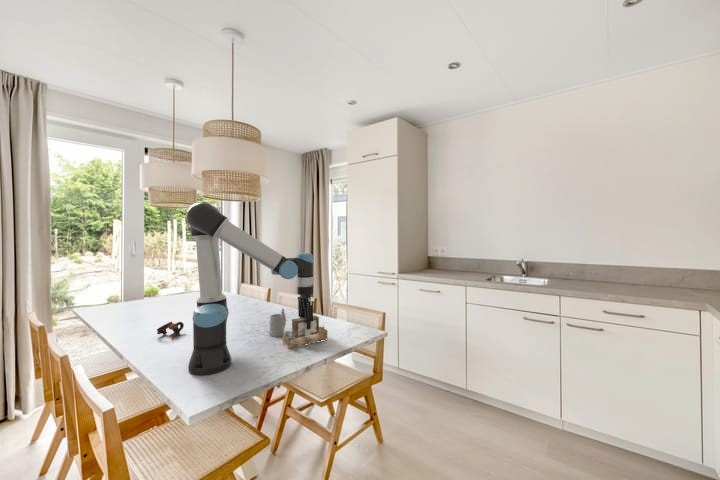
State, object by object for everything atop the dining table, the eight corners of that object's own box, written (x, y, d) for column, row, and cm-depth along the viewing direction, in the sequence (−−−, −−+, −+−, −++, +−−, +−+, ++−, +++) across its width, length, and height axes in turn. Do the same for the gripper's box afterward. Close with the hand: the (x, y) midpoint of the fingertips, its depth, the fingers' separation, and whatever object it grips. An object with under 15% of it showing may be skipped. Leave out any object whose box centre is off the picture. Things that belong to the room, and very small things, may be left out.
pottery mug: (167, 341, 150) (158, 327, 150) (160, 346, 155) (151, 332, 155) (190, 329, 160) (182, 315, 160) (182, 333, 165) (174, 320, 165)
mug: (265, 336, 157) (265, 312, 157) (279, 329, 168) (279, 307, 168) (278, 337, 154) (278, 313, 154) (291, 330, 166) (291, 308, 165)
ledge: (288, 349, 140) (288, 336, 139) (282, 344, 145) (282, 332, 145) (327, 340, 151) (327, 328, 151) (320, 336, 157) (320, 325, 156)
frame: (295, 338, 143) (295, 321, 143) (292, 336, 146) (292, 319, 146) (318, 333, 150) (318, 317, 149) (315, 331, 153) (315, 315, 153)
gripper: (320, 287, 142) (320, 337, 143) (305, 282, 157) (305, 328, 157) (305, 289, 138) (305, 340, 139) (291, 283, 152) (291, 330, 153)
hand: (305, 333), depth 148 cm, fingers closed on frame, 4 cm apart
